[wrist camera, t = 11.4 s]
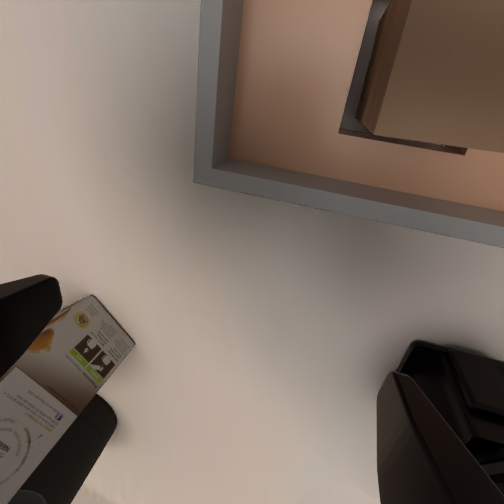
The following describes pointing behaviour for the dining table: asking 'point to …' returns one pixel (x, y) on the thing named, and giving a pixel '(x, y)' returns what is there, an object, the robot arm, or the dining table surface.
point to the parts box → (323, 125)
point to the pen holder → (70, 458)
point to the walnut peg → (438, 74)
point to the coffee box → (54, 386)
